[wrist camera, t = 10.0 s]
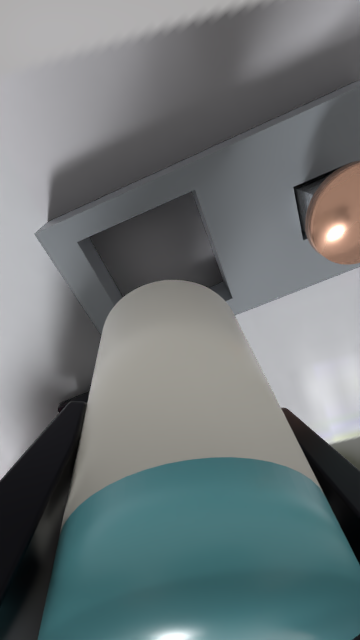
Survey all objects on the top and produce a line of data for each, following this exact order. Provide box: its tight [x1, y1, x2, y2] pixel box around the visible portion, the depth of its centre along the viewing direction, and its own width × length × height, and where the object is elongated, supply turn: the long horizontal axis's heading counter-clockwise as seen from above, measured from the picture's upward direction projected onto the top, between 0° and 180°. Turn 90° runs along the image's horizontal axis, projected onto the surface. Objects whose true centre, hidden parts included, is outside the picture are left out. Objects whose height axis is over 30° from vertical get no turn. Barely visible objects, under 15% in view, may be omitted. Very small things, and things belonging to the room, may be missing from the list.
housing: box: [35, 80, 360, 336], centre depth 18 cm, size 9×18×2 cm, turn 112°
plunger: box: [293, 160, 360, 265], centre depth 16 cm, size 4×4×6 cm
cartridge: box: [38, 280, 360, 640], centre depth 8 cm, size 5×5×8 cm
